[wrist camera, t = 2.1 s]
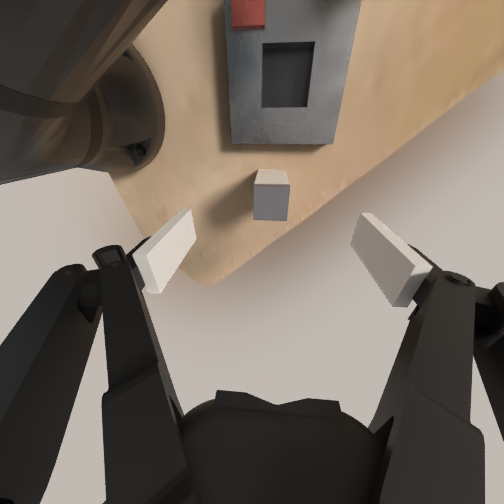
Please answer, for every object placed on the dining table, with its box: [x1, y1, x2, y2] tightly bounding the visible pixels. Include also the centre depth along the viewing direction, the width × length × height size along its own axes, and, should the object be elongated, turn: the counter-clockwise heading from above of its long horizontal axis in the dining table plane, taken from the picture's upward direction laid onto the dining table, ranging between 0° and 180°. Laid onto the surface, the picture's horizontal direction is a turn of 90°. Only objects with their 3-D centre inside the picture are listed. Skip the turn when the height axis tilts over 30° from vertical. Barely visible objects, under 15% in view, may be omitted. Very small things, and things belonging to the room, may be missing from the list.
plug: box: [253, 169, 290, 221], centre depth 24 cm, size 4×4×9 cm
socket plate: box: [224, 0, 361, 144], centre depth 20 cm, size 12×12×3 cm
